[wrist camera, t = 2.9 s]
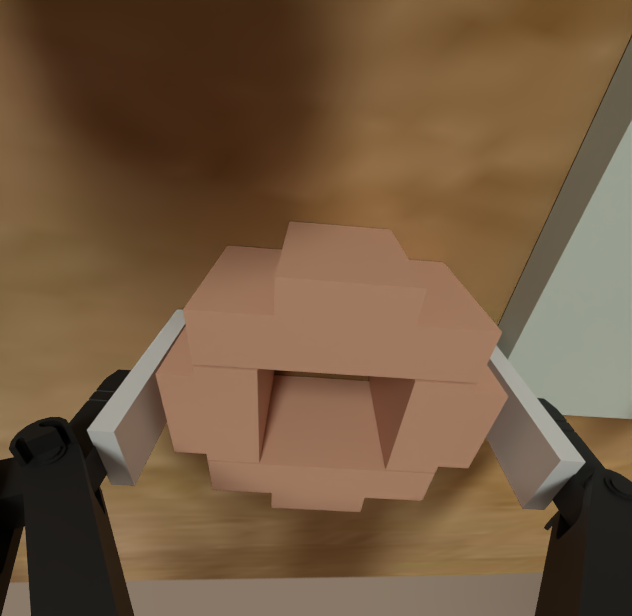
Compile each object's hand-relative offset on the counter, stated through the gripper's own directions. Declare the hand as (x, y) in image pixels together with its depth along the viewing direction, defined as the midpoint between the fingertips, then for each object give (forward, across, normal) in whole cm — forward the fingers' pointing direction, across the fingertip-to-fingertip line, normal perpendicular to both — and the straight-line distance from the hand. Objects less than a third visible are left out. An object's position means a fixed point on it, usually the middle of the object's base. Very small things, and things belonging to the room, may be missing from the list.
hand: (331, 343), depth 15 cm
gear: (0, 0, 0) cm, 0 cm away
